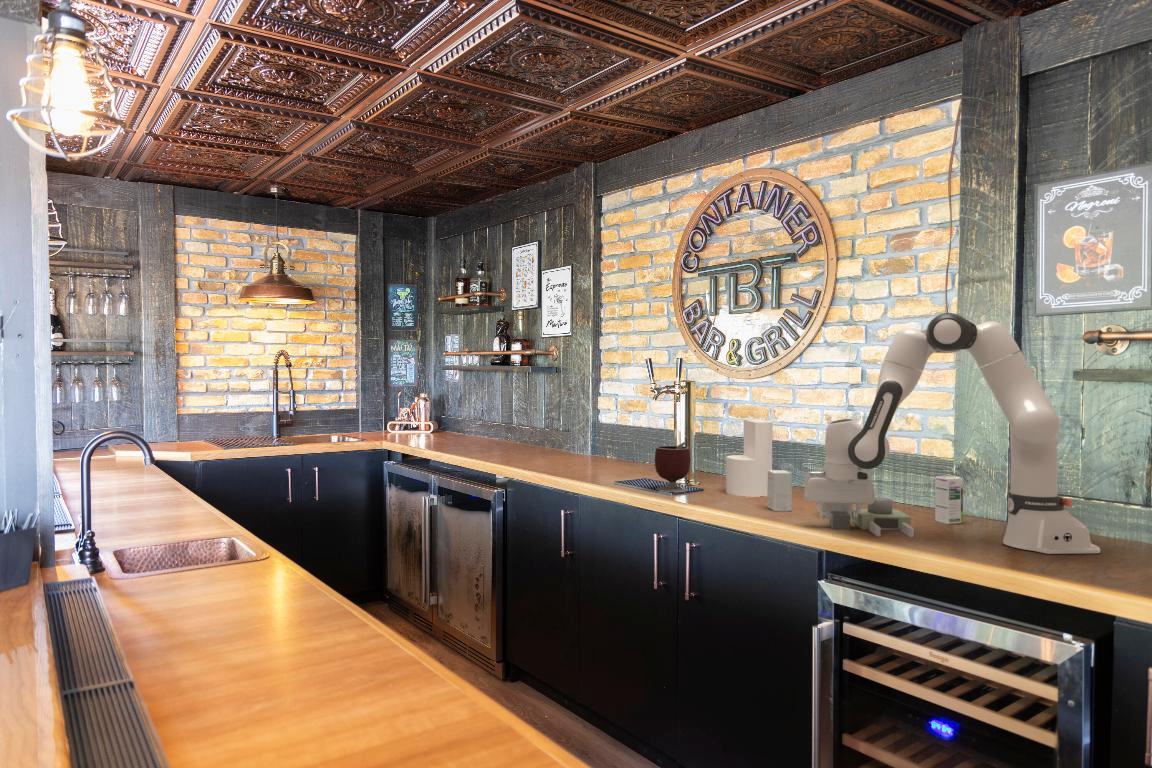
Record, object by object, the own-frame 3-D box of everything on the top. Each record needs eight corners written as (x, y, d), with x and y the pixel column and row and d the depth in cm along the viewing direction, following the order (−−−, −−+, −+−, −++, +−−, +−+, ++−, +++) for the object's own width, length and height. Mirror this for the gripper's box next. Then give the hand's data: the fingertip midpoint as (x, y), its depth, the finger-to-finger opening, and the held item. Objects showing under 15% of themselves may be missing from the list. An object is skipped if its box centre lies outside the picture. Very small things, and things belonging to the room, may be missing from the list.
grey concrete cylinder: (854, 519, 242) (855, 481, 242) (823, 518, 244) (823, 480, 244) (850, 514, 251) (850, 477, 251) (820, 512, 253) (820, 476, 253)
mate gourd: (647, 489, 302) (648, 439, 301) (676, 486, 308) (677, 437, 307) (669, 495, 288) (670, 442, 287) (699, 492, 294) (700, 441, 294)
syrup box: (948, 524, 235) (948, 478, 235) (934, 520, 241) (934, 475, 240) (963, 523, 236) (963, 477, 236) (949, 520, 242) (949, 474, 242)
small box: (792, 511, 256) (792, 473, 255) (773, 511, 255) (774, 473, 255) (784, 507, 264) (785, 469, 263) (766, 507, 264) (767, 469, 263)
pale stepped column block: (764, 489, 302) (765, 419, 302) (777, 496, 285) (778, 422, 284) (721, 489, 302) (722, 419, 301) (731, 496, 284) (732, 422, 284)
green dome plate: (898, 522, 237) (898, 497, 237) (920, 537, 217) (920, 509, 216) (852, 521, 239) (852, 496, 239) (869, 535, 218) (869, 508, 218)
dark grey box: (846, 526, 233) (846, 511, 233) (850, 530, 226) (850, 515, 226) (829, 525, 234) (829, 510, 234) (832, 529, 227) (832, 514, 227)
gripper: (806, 472, 228) (805, 518, 228) (876, 474, 225) (875, 521, 226) (802, 469, 234) (801, 514, 235) (871, 471, 232) (870, 516, 232)
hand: (838, 517), depth 230 cm, fingers open, 8 cm apart
